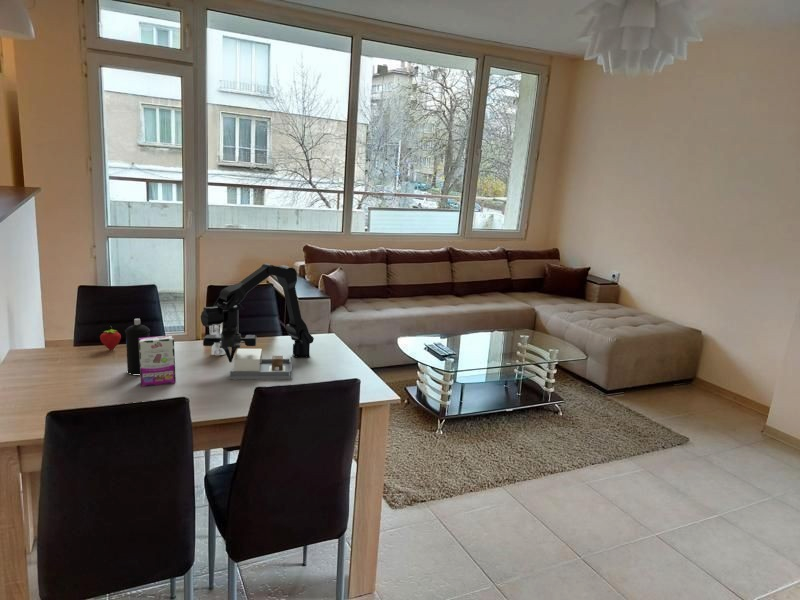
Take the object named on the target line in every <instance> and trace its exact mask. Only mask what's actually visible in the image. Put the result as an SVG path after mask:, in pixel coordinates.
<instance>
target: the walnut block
mask: <svg viewBox="0 0 800 600" xmlns="http://www.w3.org/2000/svg"><path fill="white" fill-rule="evenodd" d="M271 359H272V370H275V367H279V370H283V359H284V356H283V355H272V356H271Z"/></svg>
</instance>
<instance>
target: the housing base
mask: <svg viewBox="0 0 800 600" xmlns="http://www.w3.org/2000/svg"><path fill="white" fill-rule="evenodd" d="M292 368H293V356H291V357H290V358H283V370H279V367H275V370H272V358H262V363H260V371H234V365H233V366H232V370H231V371H229V380H230V379H242V380H244V379H256V380H292V378H293V377H292V376H293V375H292V374H293V373H292V371H293V369H292Z"/></svg>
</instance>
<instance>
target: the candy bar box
mask: <svg viewBox="0 0 800 600" xmlns="http://www.w3.org/2000/svg"><path fill="white" fill-rule="evenodd" d="M139 357H140V375H139V376H140V386H141V387H142V386H144V387H151V385H153V386H160V385H169V384H175V383H176V382H177V381H176V362H175V359H176V358H175V357H176V356H175V339H174V335H172V334H171V335H160V336H159V335H158V336H150V337H146V338H139Z"/></svg>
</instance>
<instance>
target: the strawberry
mask: <svg viewBox="0 0 800 600" xmlns="http://www.w3.org/2000/svg"><path fill="white" fill-rule="evenodd" d="M110 327H111V329H109V330H104V331H103V333H101V334H100V336H99V339H100V342H101V343H102V345H103V346H104V347H106V348H107V349H108V350H109V349H110V350H109V351H113V350H114V349H115V348H116V347H117V346H118V345H119V343H120V342H121V339H122V336H121V333H119V331H118V330H116V329H113V328H112V326H110ZM112 349H113V350H112Z"/></svg>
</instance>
